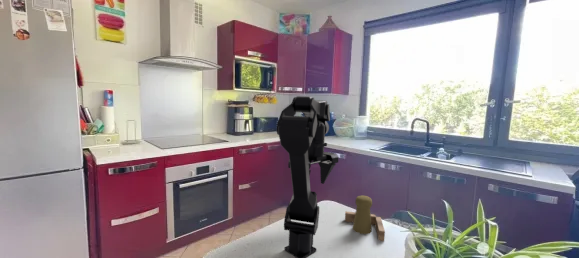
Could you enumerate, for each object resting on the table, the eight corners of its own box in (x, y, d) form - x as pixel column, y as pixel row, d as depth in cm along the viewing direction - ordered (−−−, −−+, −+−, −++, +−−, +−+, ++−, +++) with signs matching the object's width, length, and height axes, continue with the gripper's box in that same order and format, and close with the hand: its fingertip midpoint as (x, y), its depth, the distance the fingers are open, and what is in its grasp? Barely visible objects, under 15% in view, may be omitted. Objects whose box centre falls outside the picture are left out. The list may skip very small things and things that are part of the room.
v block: (381, 242, 78) (382, 232, 77) (342, 220, 91) (343, 211, 91) (398, 235, 82) (399, 226, 82) (359, 215, 96) (359, 207, 95)
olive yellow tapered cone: (370, 235, 81) (372, 201, 80) (350, 231, 84) (352, 198, 82) (373, 227, 87) (375, 195, 85) (354, 223, 89) (356, 192, 88)
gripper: (315, 134, 96) (313, 175, 98) (277, 138, 84) (275, 186, 85) (340, 138, 88) (338, 183, 90) (302, 143, 76) (300, 195, 77)
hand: (313, 186), depth 86 cm, fingers open, 9 cm apart
